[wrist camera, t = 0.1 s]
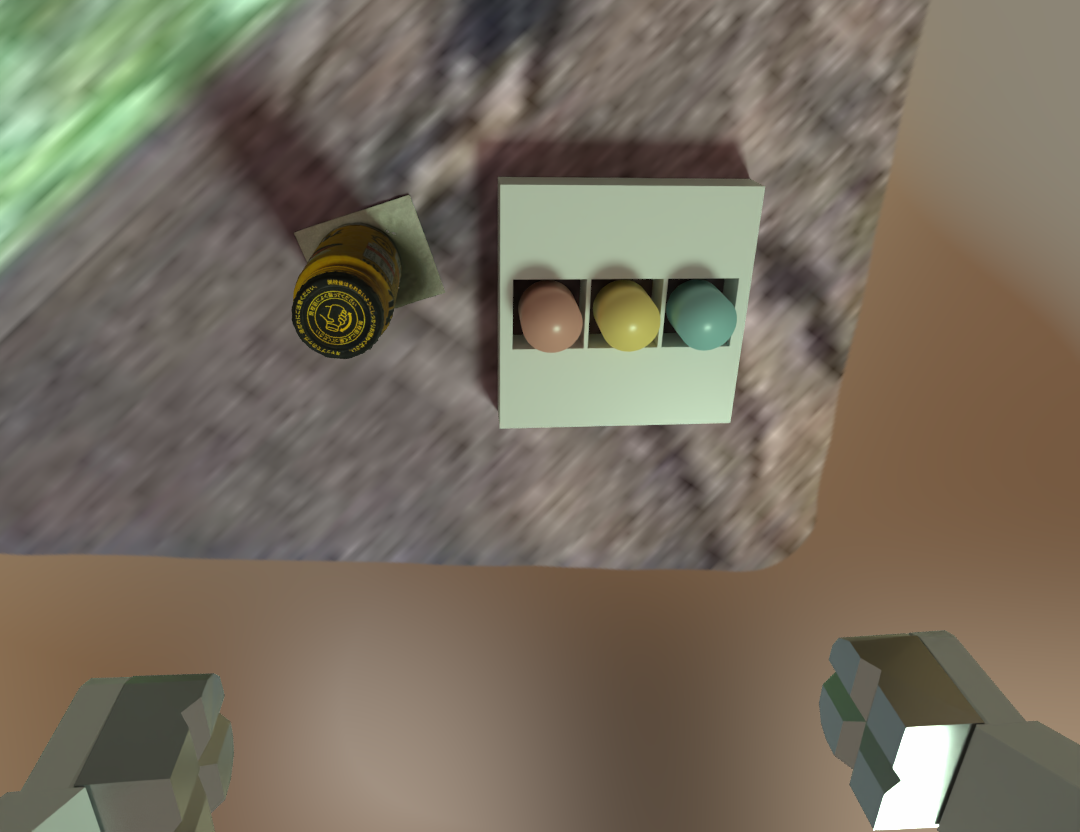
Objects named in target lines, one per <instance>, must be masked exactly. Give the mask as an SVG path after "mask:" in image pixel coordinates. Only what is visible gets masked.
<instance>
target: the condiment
mask: <svg viewBox="0 0 1080 832" xmlns="http://www.w3.org/2000/svg"><path fill="white" fill-rule="evenodd" d="M386 230H388V231H389V232H390V233H387V232H386ZM391 232H395V233H396V235H393V234H392V233H391ZM294 235H295V237H296V239H297V241H298V243H299V245H300V248H301V250H302V252H303V254H304V256H305V258H306V261H307V265H306V266H305V268H304V269H303V271H302V272H301V274H300V275H299V277H298V280H297V282H296V286H295V289H294V297H293V306H292V322H293V325H294V327H295V329H296V332H297V334H298V336H299V337H300V339H301V340H302V341H303V342H304V343H305V344H306V345H307V346H308V347H309V348H311V349H312V350H314V351H315V352H317V353H319V354H322V355H324V356H325V357H329V358H340V359H349V358H352V357H355V356H358V355H360V354H363V353H364V352H365V351H367V350H368V349H371V348H372V346H373V344H375V343H376V342H377V341H378V338H379V337H380V336H381V335H382V334H383V332H384V331H385V330H386V329H387V327H388V326H389V323H390V321H391V318H392V316H393V311H394V308H398V307H401V306H404V305H407V304H410V303H413V302H416V301H419V300H422V299H426V298H429V297H433V296H436V295H439V294H442V293H445V290H444V288H443V285H442V283H441V279H440V276H439V274H438V271H437V268H436V266H435V263H434V260H433V257H432V255H431V252H430V249H429V246H428V244H427V241H426V238H425V235H424V233H423V230H422V228H421V225H420V222H419V219H418V217H417V214H416V212H415V209H414V206H413V203H412V201H411V198H410V195H407V196H404V197H401V198H398V199H395V200H392V201H389V202H386V203H383V204H380V205H377V206H374V207H371V208H368V209H364V210H361V211H358V212H355V213H352V214H349V215H345V216H342V217H339V218H336V219H333V220H330V221H327V222H324V223H321V224H318V225H315V226H312V227H309V228H306V229H303V230H300V231H297V232H295V233H294ZM398 287H399V289H398Z"/></svg>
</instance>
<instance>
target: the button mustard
mask: <svg viewBox="0 0 1080 832" xmlns="http://www.w3.org/2000/svg"><path fill="white" fill-rule="evenodd" d="M593 314H594V318H595V320H596V322H597V324H598V326H599V328H600V331H601V333H602V335H603V337H604V339H605V340H606V342H607V343H608V344H609V345H610V346H612V347H613V348H615V349H617V350H620V351H625V352H631V351H637V350H640V349H642V348H644V347H646V346H647V345H648V344H650V343H651V342H652V341H653V339H654V338H655V337H656V335H657V333H658V331H659V328H660V321H661V319H660V313H659V310H658V308H657V307H656V305H655V304H654V302H653V301H652V300H651V298H650V297H649V296H648V294H647V293H646V291H645V290H644V289H643V288H642V287H641V286H640V285H639V284H637V283H635V282H633V281H630V280H617V281H613V282H611V283H609V284H607V285H606V286H604V287H603V288H602V289H601V290H600V291H599V293H598V294H597V296H596V298H595V300H594V304H593Z"/></svg>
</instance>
